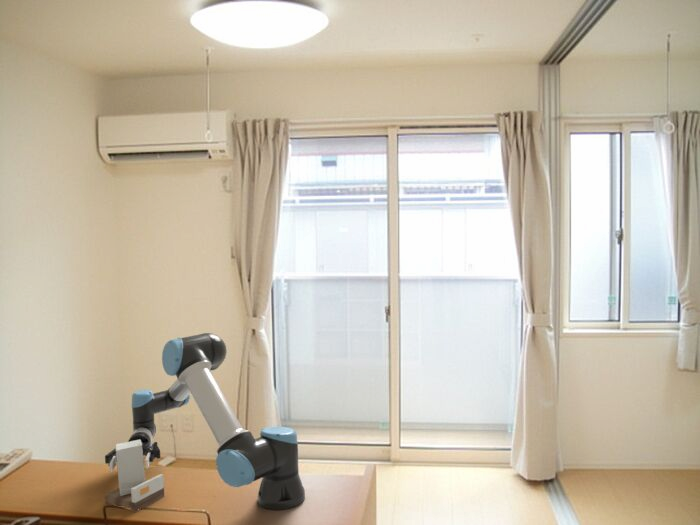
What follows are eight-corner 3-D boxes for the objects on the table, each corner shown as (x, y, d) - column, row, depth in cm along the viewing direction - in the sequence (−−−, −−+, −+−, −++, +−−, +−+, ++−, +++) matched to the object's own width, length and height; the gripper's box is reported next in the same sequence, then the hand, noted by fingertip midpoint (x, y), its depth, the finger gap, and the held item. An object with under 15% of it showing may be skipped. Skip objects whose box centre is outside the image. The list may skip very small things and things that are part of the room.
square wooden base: (165, 496, 194) (163, 474, 194) (136, 512, 184) (134, 489, 184) (135, 488, 201) (134, 467, 201) (105, 503, 191) (104, 481, 191)
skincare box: (144, 483, 198) (141, 438, 197) (146, 491, 192) (143, 444, 191) (118, 489, 195) (115, 443, 194) (119, 497, 188) (115, 449, 188)
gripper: (173, 448, 213) (166, 473, 191) (106, 455, 208) (91, 481, 187) (172, 428, 212) (164, 450, 190) (105, 434, 208) (90, 458, 186)
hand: (128, 465), depth 188 cm, fingers open, 10 cm apart
